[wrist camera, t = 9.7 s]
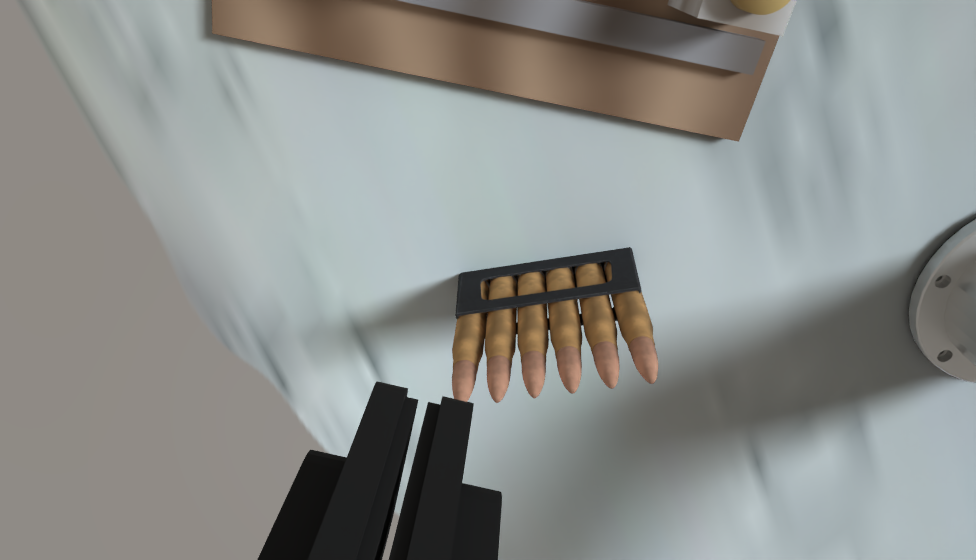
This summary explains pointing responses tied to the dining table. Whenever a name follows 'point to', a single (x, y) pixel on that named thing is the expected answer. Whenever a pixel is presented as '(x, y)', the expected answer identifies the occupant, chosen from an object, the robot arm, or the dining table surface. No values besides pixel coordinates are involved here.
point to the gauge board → (547, 49)
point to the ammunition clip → (551, 321)
